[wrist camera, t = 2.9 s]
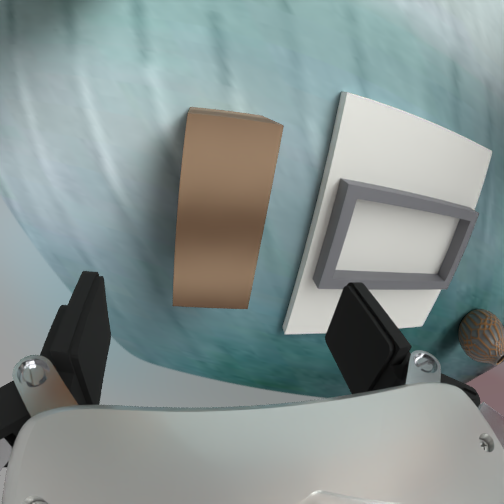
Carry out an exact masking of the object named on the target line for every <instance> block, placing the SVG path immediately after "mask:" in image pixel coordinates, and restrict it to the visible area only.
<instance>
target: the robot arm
mask: <svg viewBox="0 0 504 504" xmlns="http://www.w3.org/2000/svg"><path fill="white" fill-rule="evenodd" d="M110 339H111V332H110V325H109V318H108V311H107V303H106V294H105V285H104V278H103V276H99V274H98V272H89V271H83V272H82V274H81V276H80V279H79V281H78V283H77V285H76V287H75V290H74V292H73V294H72V296H71V299H70V301H69V304H68V305H61V306H60V308H59V310H58V312H57V315H56V317H55V319H54V321H53V324H52V326H51V329H50V331H49V333H48V336H47V338H46V341H45V343H44V346H43V349H42V351H41V354H40V355H30V356H27V357H25V358H23V359H21V360H20V361H19V362H18V363H17V364H16V365H15V367H14V370H13V379H14V381H12V382H10V383H8V384H6V385H4V386H2V387H1V388H0V471H1V469H2V468H3V467H7V471H6V477H5V483H4V490H3V497H2V504H47V503H48V504H504V417H503V416H501V415H500V414H499V413H498V412H496V411H495V410H493V409H492V408H491V407H489V406H488V405H487V404H485V403H484V402H483V403H482V404H480V398H479V395H478V393H477V392H476V390H475V389H474V388H472V387H470V386H468V385H466V384H464V383H462V382H459V381H457V380H455V379H453V378H451V377H448V376H446V375H444V374H442V373H441V366H440V363H439V361H438V360H437V359H436V358H435V357H434V356H433V355H432V354H430V353H428V352H425V351H419V350H418V351H414V352H413V353H412V354H410V352H409V350H410V348H411V347H412V346H411V345H410V344H409V342H408V341H407V339H406V338H405V337H404V335H403V334H402V333H401V331H400V330H399V329H398V327H397V326H396V325H395V323H394V322H393V321H392V319H391V318H390V317H389V316H388V314H387V313H386V312H385V310H384V309H383V308H382V306H381V305H380V304H379V303H378V301H377V300H376V299H375V297H374V296H373V295H372V294H371V292H370V291H369V290H368V289H367V287H366V286H365V285H364V284H363V283H361V282H350V283H348V284H347V286H345V287H344V288H343V290H342V293H341V296H340V298H339V301H338V304H337V307H336V309H335V312H334V314H333V317H332V320H331V322H330V325H329V327H328V330H327V332H326V336H325V340H326V343H327V345H328V347H329V349H330V351H331V353H332V355H333V357H334V359H335V361H336V363H337V365H338V367H339V369H340V371H341V373H342V375H343V377H344V379H345V381H346V383H347V385H348V387H349V389H350V391H351V393H352V395H345V396H339V397H332V398H325V399H318V400H310V401H301V402H292V403H282V404H271V405H257V406H239V407H218V408H217V407H212V408H172V407H171V408H170V407H169V408H168V407H138V406H137V407H136V406H119V405H99V401H100V396H101V389H102V383H103V377H104V371H105V366H106V360H107V355H108V350H109V345H110Z"/></svg>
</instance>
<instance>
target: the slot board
mask: <svg viewBox="0 0 504 504" xmlns="http://www.w3.org/2000/svg"><path fill="white" fill-rule="evenodd" d="M491 155H492V151H491V150H489V149H487V148H485V147H483V146H482V145H480V144H478V143H476V142H474V141H472V140H470V139H468V138H466V137H463V136H461V135H459V134H457V133H455V132H453V131H451V130H448V129H446V128H444V127H442V126H440V125H437V124H435V123H433V122H430V121H428V120H425V119H423V118H420V117H418V116H415V115H413V114H410V113H408V112H405V111H402V110H400V109H397V108H394V107H392V106H389V105H386V104H383V103H380V102H377V101H374V100H371V99H368V98H365V97H362V96H358V95H355V94H352V93H348V92H341V96H340V101H339V106H338V111H337V115H336V120H335V125H334V129H333V134H332V138H331V143H330V147H329V152H328V156H327V161H326V165H325V169H324V174H323V178H322V182H321V186H320V190H319V194H318V198H317V202H316V207H315V211H314V214H313V218H312V222H311V226H310V230H309V234H308V238H307V242H306V245H305V249H304V253H303V257H302V260H301V264H300V268H299V271H298V275H297V279H296V282H295V286H294V289H293V293H292V296H291V300H290V303H289V307H288V310H287V314H286V317H285V320H284V324H283V327H282V328H283V330H284V333H285V334H315V333H326V332H327V330H328V327H329V325H330V322H331V320H332V317H333V314H334V312H335V309H336V307H337V304H338V301H339V298H340V296H341V293H342V290H343V288H344V287H345V286H347V284H348V283H350V282H361V283H363V284H364V285H365V286H366V287H367V289H368V290H369V291H370V292H371V294H372V295H373V296H374V297H375V299H376V300H377V301H378V303H379V304H380V305H381V306H382V308H383V309H384V310H385V312H386V313H387V314H388V316H389V317H390V318H391V319H392V321H393V322H394V323H395V325H396V326H397V327H398V328H409V327H419V326H422V325H423V324H424V322H425V320H426V318H427V316H428V314H429V312H430V311H431V309H432V307H433V305H434V303H435V301H436V299H437V297H438V295H439V293H440V291H441V289H447V288H448V286H449V284H450V282H451V280H452V278H453V276H454V273H455V271H456V269H457V267H458V265H459V262H460V260H461V258H462V256H463V253H464V251H465V249H466V246H467V244H468V241H469V239H470V236H471V234H472V231H473V229H474V226H475V223H476V221H477V218H478V215H479V213H478V212H476V211H475V207H476V204H477V202H478V199H479V196H480V192H481V189H482V186H483V183H484V180H485V176H486V173H487V170H488V166H489V162H490V159H491Z"/></svg>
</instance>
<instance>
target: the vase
mask: <svg viewBox="0 0 504 504" xmlns="http://www.w3.org/2000/svg"><path fill="white" fill-rule="evenodd" d="M458 337H459V342H460V345H461V347H462V349H463V350H464V352H465V353H466V354H467V355H468V356H469V357H470V358H472V359H473V360H475V361H478V362H483V363H491V364H493V365H499V364H500V363H501V362H502V361H503V360H504V328H503V325H502V323H501V322H500V320H499V319H498V318H497V317H496V316H495V315H494V314H493V313H491V312H490V311H487V310H484V309H477V310H473V311H471V312H470V313H468V314H467V315H466V316H465V317H464V319H463V320H462V322H461V323H460V326H459V332H458Z"/></svg>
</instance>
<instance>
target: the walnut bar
mask: <svg viewBox="0 0 504 504" xmlns="http://www.w3.org/2000/svg"><path fill="white" fill-rule="evenodd" d="M282 132H283V125H281V124H279V123H277V122H275V121H273V120H270V119H268V118H266V117H264V116H260V115H254V114H247V113H240V112H232V111H224V110H215V109H206V108H196V107H190V109H189V111H188V115H187V122H186V130H185V139H184V147H183V156H182V166H181V176H180V187H179V198H178V211H177V224H176V240H175V258H174V281H173V306H182V307H203V308H229V309H248V304H249V299H250V294H251V290H252V285H253V280H254V275H255V269H256V264H257V259H258V254H259V249H260V244H261V239H262V234H263V229H264V224H265V219H266V214H267V209H268V204H269V199H270V194H271V188H272V183H273V178H274V173H275V168H276V163H277V158H278V152H279V147H280V142H281V137H282Z"/></svg>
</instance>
